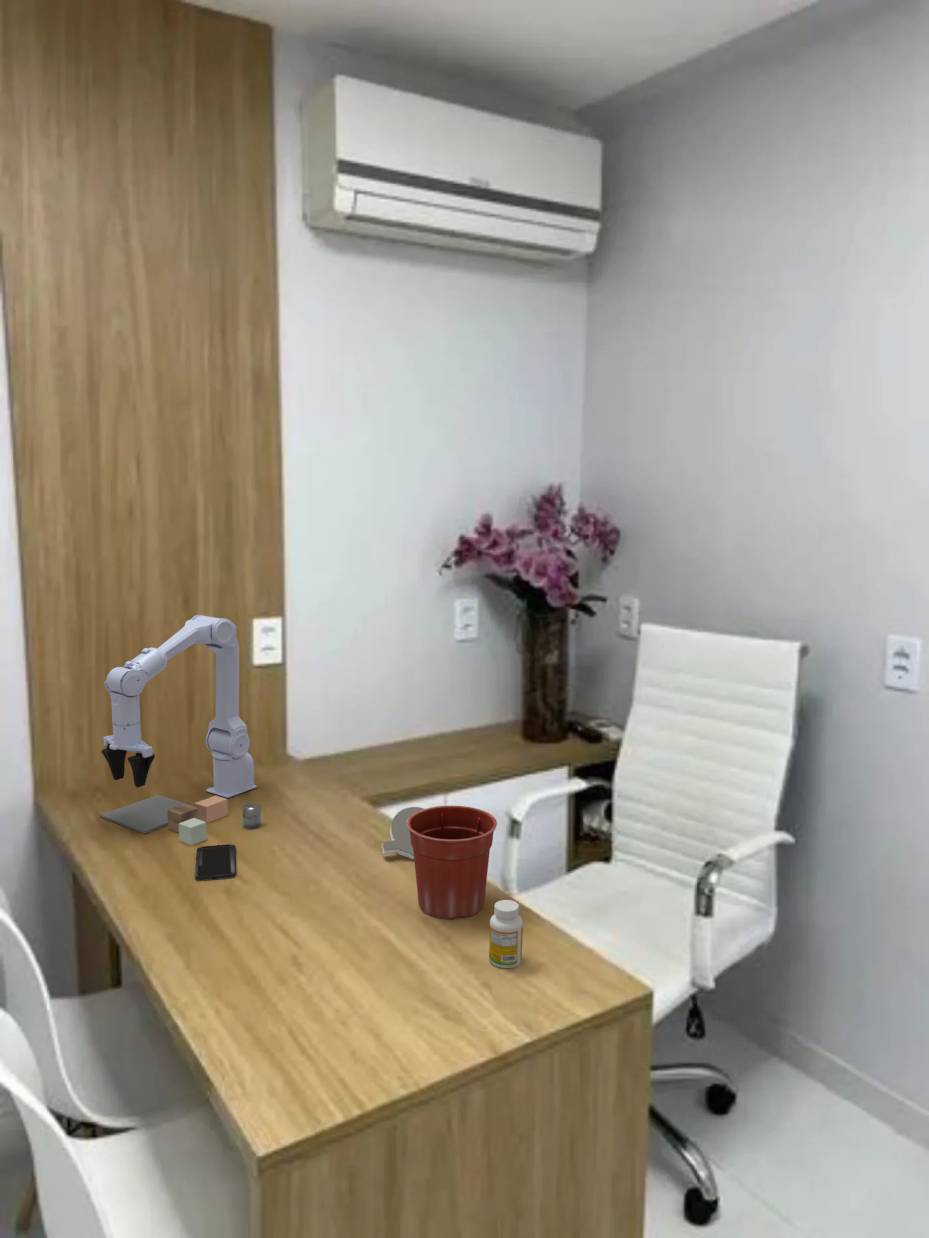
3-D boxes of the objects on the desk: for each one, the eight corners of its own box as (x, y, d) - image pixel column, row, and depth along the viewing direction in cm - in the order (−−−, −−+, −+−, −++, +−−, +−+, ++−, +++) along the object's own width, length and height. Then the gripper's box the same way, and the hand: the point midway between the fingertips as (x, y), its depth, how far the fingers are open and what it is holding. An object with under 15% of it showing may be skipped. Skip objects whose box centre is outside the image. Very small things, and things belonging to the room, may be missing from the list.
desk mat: (159, 797, 224) (158, 794, 224) (203, 811, 216) (203, 809, 215) (100, 817, 211) (99, 814, 211) (144, 833, 203) (144, 831, 202)
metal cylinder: (252, 820, 211) (252, 801, 210) (264, 825, 209) (264, 805, 208) (238, 826, 207) (238, 807, 207) (251, 830, 205) (250, 811, 205)
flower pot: (416, 931, 163) (417, 843, 160) (397, 889, 178) (398, 809, 175) (506, 920, 167) (508, 834, 164) (480, 880, 183) (482, 802, 180)
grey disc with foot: (386, 861, 189) (380, 806, 193) (379, 867, 196) (373, 813, 200) (457, 853, 193) (450, 799, 197) (448, 859, 200) (441, 807, 204)
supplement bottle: (502, 948, 157) (503, 894, 156) (528, 959, 154) (529, 904, 152) (482, 961, 153) (483, 905, 151) (508, 973, 150) (510, 916, 148)
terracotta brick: (216, 812, 216) (215, 795, 215) (227, 815, 214) (227, 799, 213) (195, 819, 211) (194, 803, 211) (207, 823, 209) (206, 806, 208)
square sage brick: (194, 835, 202) (193, 817, 202) (206, 839, 200) (206, 822, 200) (179, 841, 199) (178, 823, 199) (191, 845, 197) (191, 827, 196)
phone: (235, 843, 196) (236, 874, 182) (235, 848, 197) (236, 879, 182) (196, 846, 194) (194, 877, 180) (196, 852, 195) (194, 883, 180)
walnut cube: (184, 823, 209) (183, 803, 208) (198, 827, 207) (197, 808, 206) (168, 829, 205) (167, 809, 205) (181, 834, 203) (180, 814, 202)
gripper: (90, 720, 204) (93, 780, 206) (131, 732, 195) (134, 794, 198) (118, 713, 209) (121, 772, 212) (159, 724, 201) (162, 785, 203)
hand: (129, 782), depth 205 cm, fingers open, 7 cm apart
